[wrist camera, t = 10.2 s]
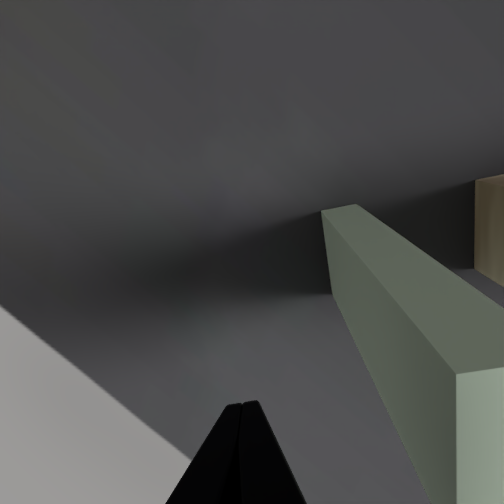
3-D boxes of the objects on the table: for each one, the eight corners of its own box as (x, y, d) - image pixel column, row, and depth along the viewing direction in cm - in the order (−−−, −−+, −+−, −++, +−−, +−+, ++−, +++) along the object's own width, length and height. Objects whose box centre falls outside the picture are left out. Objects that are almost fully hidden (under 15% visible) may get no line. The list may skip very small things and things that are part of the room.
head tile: (356, 203, 17) (571, 356, 5) (365, 288, 19) (546, 548, 7) (320, 210, 17) (456, 374, 6) (332, 294, 19) (456, 558, 7)
